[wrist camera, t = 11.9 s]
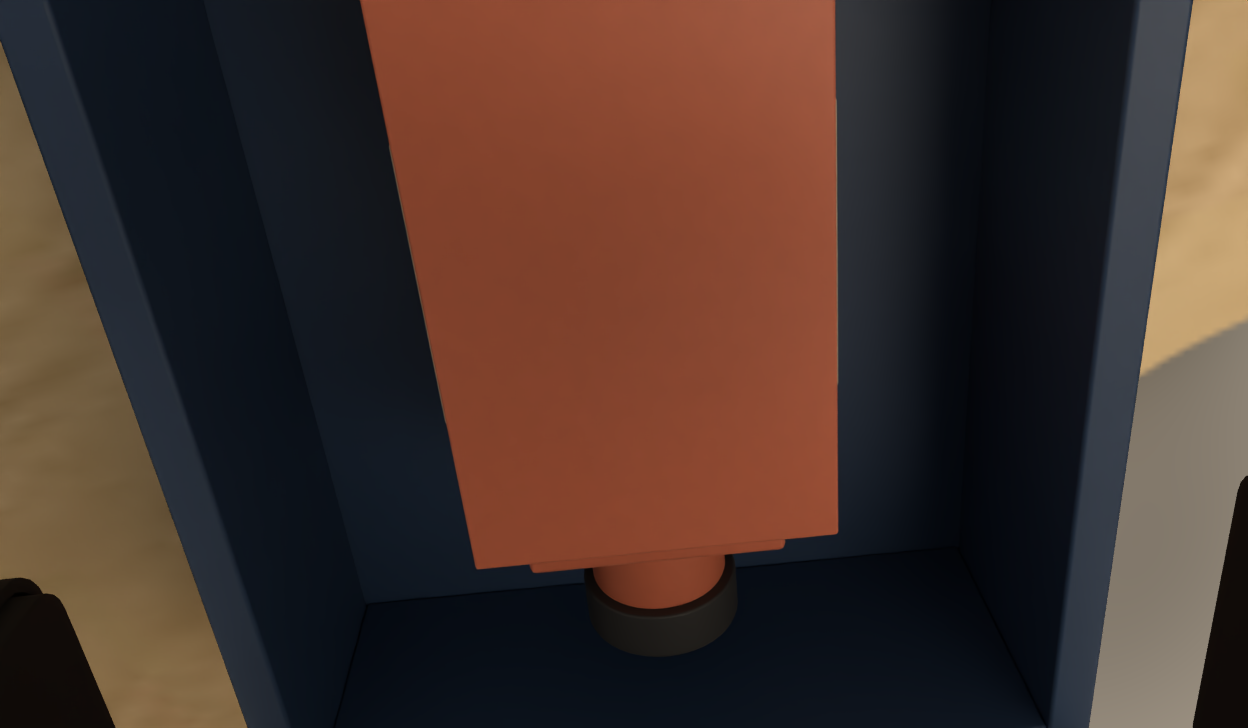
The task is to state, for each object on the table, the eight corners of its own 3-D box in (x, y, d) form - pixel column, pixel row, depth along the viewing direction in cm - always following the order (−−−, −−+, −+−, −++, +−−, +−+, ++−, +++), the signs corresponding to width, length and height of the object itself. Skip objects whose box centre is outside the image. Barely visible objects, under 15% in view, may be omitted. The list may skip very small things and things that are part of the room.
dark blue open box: (104, -254, 18) (-117, -278, 12) (1043, -360, 18) (1258, -434, 12) (346, 609, 27) (282, 829, 21) (979, 548, 26) (1086, 753, 21)
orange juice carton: (416, -112, 18) (342, -73, 13) (759, -151, 18) (837, -127, 13) (526, 524, 25) (508, 742, 19) (782, 499, 24) (841, 710, 19)
